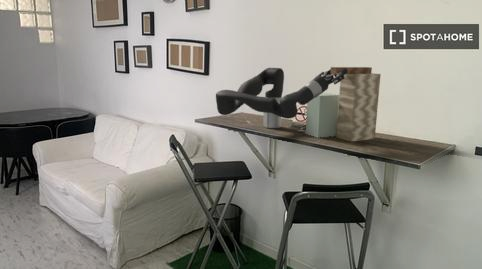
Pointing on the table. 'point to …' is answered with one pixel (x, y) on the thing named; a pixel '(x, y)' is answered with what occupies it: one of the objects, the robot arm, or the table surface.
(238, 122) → the table surface
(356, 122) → the tall stand
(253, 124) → the table surface
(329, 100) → the short pedestal
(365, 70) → the bar
